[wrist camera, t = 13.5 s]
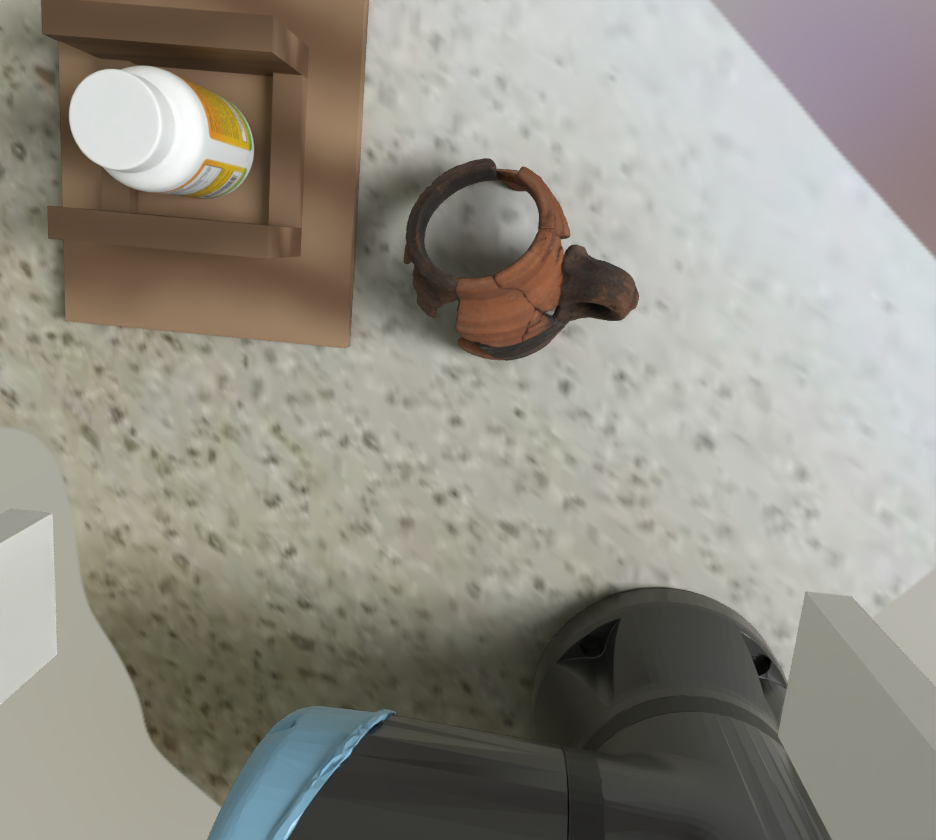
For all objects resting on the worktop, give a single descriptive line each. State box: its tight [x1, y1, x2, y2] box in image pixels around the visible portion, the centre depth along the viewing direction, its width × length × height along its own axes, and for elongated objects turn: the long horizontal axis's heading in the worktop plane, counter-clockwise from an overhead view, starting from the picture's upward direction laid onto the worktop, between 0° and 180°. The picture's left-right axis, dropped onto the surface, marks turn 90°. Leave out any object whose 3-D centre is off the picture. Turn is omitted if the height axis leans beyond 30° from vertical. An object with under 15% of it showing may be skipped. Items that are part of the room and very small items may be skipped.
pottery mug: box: [404, 158, 639, 360], centre depth 41 cm, size 12×10×8 cm
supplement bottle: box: [69, 66, 254, 199], centre depth 37 cm, size 5×5×10 cm
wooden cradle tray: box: [41, 0, 369, 348], centre depth 40 cm, size 20×16×7 cm
